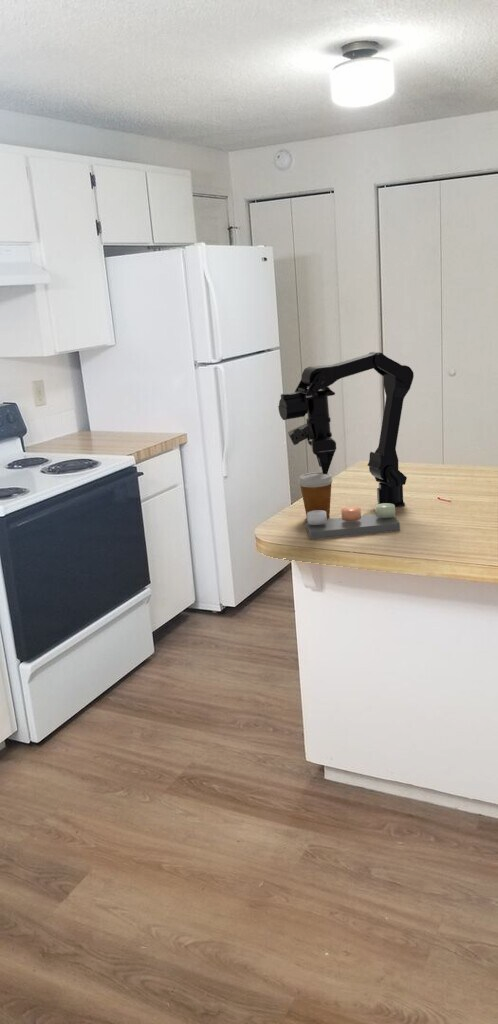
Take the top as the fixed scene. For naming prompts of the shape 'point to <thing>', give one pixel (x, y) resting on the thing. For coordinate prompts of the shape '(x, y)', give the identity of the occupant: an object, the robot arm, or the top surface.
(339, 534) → the panel
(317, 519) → the button bluegrey
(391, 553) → the top surface
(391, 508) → the button sage
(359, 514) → the button terracotta
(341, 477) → the top surface
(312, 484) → the disposable coffee cup
